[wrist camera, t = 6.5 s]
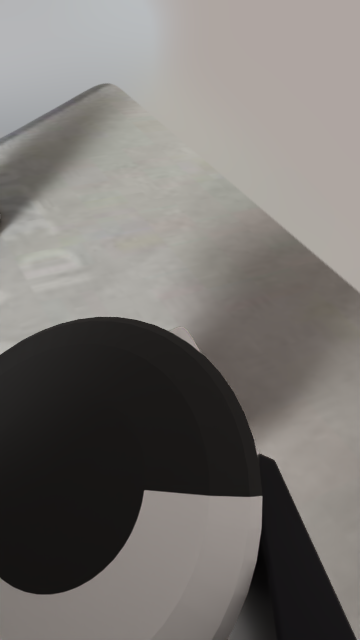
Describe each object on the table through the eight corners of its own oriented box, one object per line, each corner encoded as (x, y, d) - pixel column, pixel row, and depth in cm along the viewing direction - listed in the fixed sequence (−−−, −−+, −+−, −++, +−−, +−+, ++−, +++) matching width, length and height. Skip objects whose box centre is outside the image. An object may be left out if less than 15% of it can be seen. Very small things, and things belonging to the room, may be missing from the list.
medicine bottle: (79, 429, 16) (-184, 381, 5) (190, 370, 17) (170, 224, 6) (128, 575, 13) (-252, 1210, 2) (258, 494, 14) (455, 643, 3)
